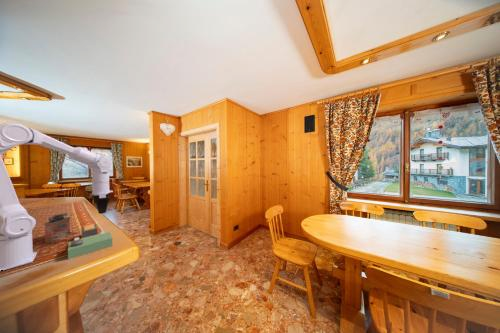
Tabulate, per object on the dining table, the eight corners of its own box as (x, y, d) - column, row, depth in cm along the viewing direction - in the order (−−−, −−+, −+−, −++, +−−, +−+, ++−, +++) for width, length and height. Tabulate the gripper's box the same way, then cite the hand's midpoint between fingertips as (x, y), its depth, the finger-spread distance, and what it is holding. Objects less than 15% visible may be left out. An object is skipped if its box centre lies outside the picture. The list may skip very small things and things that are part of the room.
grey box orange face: (82, 241, 63) (81, 230, 63) (81, 236, 67) (81, 226, 67) (97, 237, 66) (97, 227, 66) (96, 233, 71) (95, 223, 71)
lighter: (50, 241, 63) (49, 217, 63) (42, 242, 63) (41, 217, 63) (73, 233, 71) (72, 211, 71) (66, 233, 71) (65, 211, 71)
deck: (68, 259, 51) (67, 246, 51) (69, 245, 59) (69, 234, 59) (112, 245, 59) (112, 234, 59) (108, 235, 68) (107, 226, 68)
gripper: (114, 182, 69) (115, 212, 69) (110, 180, 79) (111, 206, 79) (92, 184, 64) (92, 216, 64) (90, 181, 74) (91, 209, 74)
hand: (101, 211), depth 71 cm, fingers open, 7 cm apart
